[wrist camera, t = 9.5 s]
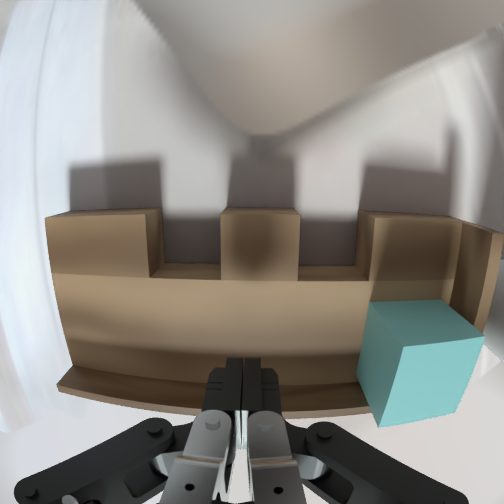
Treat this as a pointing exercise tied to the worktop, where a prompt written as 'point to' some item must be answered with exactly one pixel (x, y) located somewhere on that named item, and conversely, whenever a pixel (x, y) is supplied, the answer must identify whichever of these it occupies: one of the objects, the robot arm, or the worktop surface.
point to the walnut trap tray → (247, 302)
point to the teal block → (415, 360)
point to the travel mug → (496, 318)
